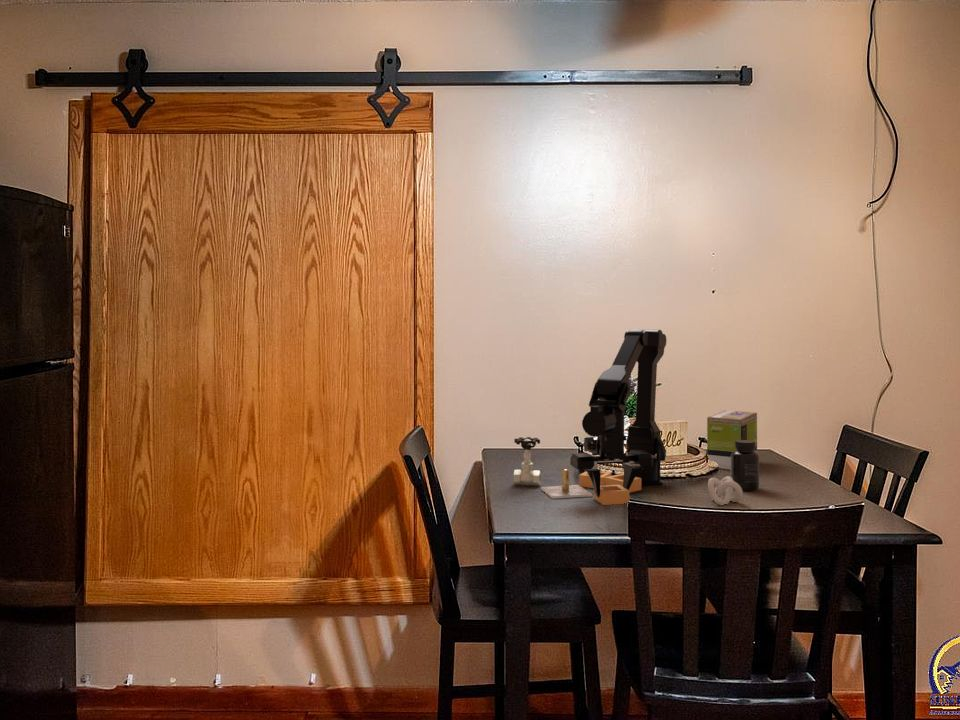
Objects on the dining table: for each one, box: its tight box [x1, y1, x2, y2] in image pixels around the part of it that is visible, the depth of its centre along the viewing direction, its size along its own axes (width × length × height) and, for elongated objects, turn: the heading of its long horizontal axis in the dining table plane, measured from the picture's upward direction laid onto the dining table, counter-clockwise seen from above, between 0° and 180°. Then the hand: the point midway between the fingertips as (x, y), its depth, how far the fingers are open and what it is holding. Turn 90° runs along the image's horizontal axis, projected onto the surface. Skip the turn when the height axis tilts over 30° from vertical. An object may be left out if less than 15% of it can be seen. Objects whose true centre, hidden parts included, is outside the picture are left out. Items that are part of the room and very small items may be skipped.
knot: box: [707, 475, 744, 505], centre depth 188 cm, size 8×8×6 cm
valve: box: [513, 436, 542, 487], centre depth 206 cm, size 7×7×12 cm
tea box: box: [706, 410, 758, 471], centre depth 230 cm, size 15×10×15 cm, turn 144°
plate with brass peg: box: [539, 468, 593, 500], centre depth 198 cm, size 10×10×6 cm
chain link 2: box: [605, 473, 642, 493], centre depth 201 cm, size 6×6×3 cm
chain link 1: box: [578, 470, 613, 489], centre depth 206 cm, size 6×6×3 cm
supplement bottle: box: [730, 440, 760, 492], centre depth 201 cm, size 7×7×12 cm
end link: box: [593, 485, 631, 506], centre depth 190 cm, size 6×6×3 cm
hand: (611, 495), depth 190 cm, fingers closed on end link, 6 cm apart
